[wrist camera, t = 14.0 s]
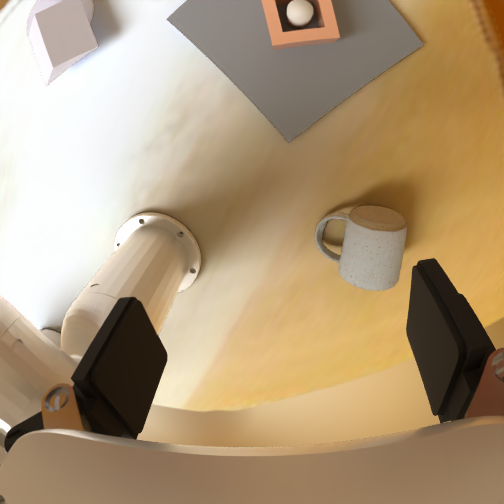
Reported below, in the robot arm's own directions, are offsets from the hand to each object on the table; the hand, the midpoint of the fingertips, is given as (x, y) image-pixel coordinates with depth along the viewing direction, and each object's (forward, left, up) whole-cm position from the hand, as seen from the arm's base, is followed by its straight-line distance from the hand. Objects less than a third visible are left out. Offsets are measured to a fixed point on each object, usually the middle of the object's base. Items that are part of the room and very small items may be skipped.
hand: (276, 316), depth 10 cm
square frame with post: (+12, +12, -27) cm, 32 cm away
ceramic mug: (0, -14, -29) cm, 32 cm away
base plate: (+11, +10, -28) cm, 32 cm away
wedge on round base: (-8, +31, -29) cm, 43 cm away
